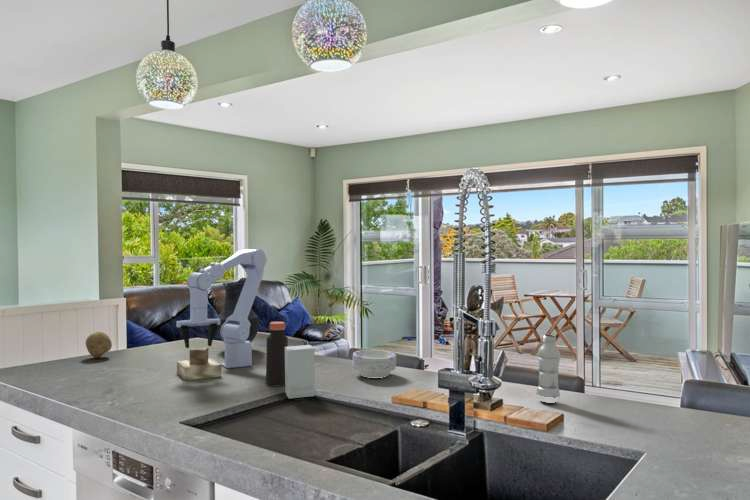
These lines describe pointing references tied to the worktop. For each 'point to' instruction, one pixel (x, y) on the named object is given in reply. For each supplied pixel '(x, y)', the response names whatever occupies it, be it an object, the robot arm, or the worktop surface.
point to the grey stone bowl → (374, 362)
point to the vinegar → (276, 354)
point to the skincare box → (299, 371)
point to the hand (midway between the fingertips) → (198, 346)
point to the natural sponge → (98, 344)
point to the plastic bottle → (548, 367)
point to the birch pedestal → (198, 370)
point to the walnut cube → (198, 356)
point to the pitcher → (230, 304)
